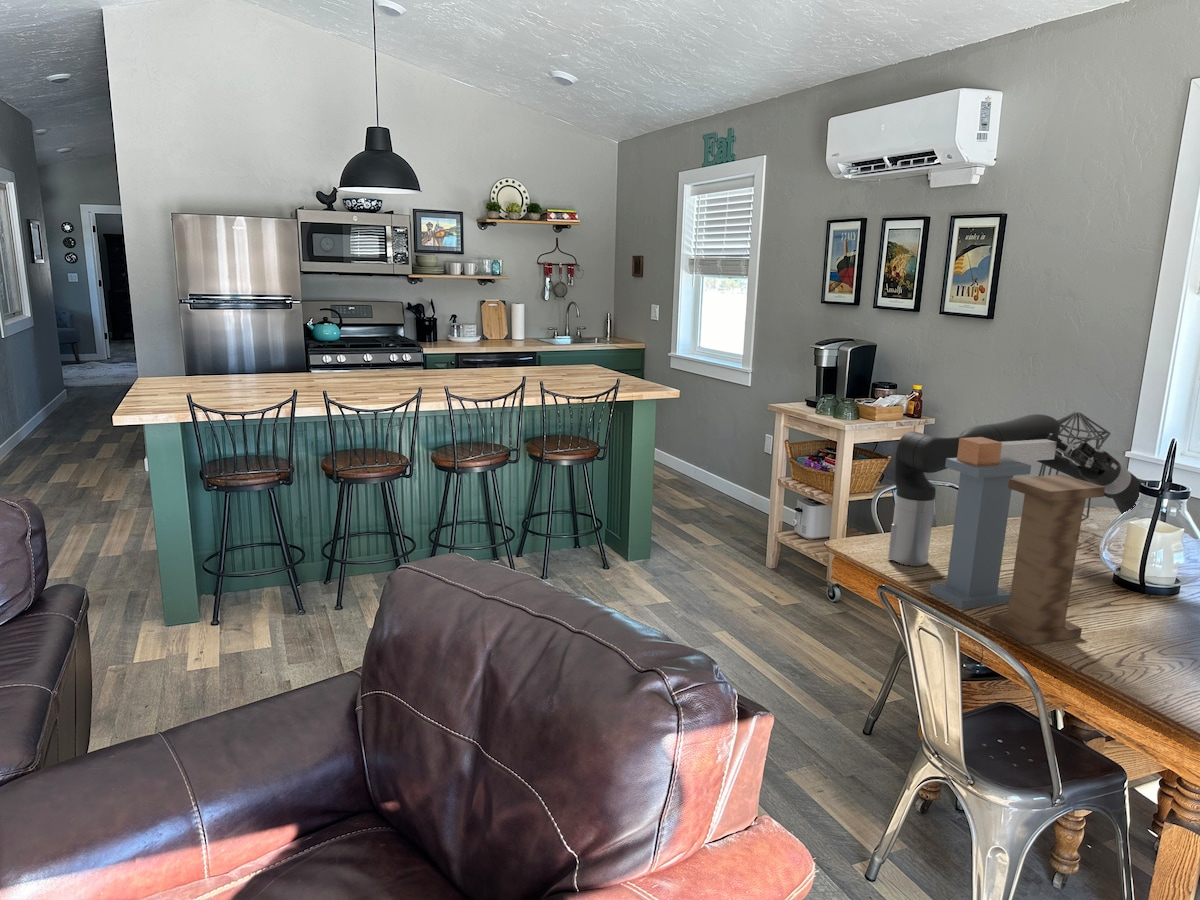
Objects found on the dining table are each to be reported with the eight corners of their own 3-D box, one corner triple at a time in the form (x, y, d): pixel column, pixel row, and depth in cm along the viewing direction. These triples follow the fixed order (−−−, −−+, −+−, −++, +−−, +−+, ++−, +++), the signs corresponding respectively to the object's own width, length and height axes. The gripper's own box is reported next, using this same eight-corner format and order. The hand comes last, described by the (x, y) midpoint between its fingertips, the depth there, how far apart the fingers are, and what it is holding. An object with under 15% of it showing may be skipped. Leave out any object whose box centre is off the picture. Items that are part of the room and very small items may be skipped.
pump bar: (1038, 454, 187) (1041, 433, 185) (1059, 460, 181) (1063, 438, 180) (956, 460, 180) (959, 438, 178) (976, 466, 174) (979, 443, 173)
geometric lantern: (1036, 518, 248) (1056, 405, 240) (1093, 531, 237) (1117, 414, 229) (1017, 528, 237) (1038, 410, 229) (1077, 542, 226) (1101, 419, 218)
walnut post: (1040, 617, 176) (1062, 474, 169) (1080, 637, 166) (1105, 487, 159) (989, 624, 171) (1009, 478, 164) (1026, 645, 162) (1049, 491, 155)
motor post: (978, 586, 192) (996, 455, 185) (1011, 602, 183) (1031, 465, 176) (930, 592, 188) (946, 458, 181) (961, 609, 179) (979, 469, 172)
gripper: (1124, 494, 183) (1082, 462, 177) (1070, 478, 196) (1030, 448, 190) (1141, 466, 183) (1101, 433, 177) (1086, 451, 196) (1047, 420, 190)
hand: (1064, 441), depth 183 cm, fingers open, 8 cm apart
